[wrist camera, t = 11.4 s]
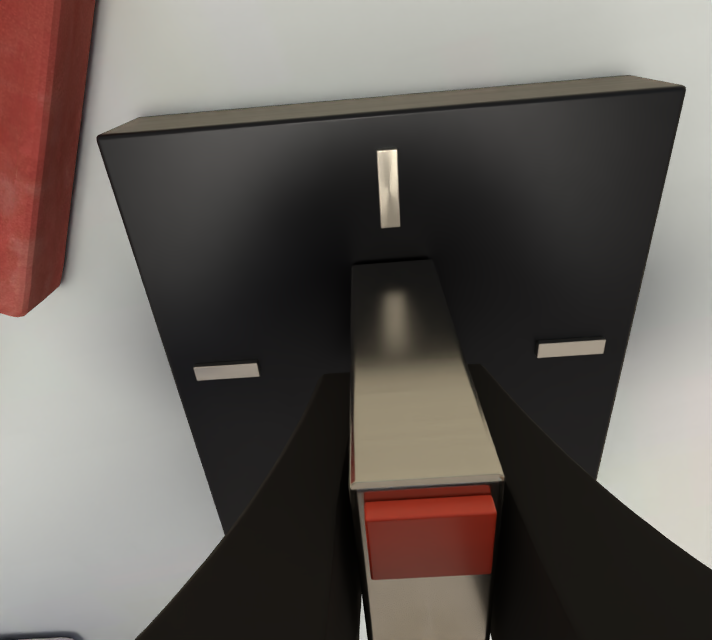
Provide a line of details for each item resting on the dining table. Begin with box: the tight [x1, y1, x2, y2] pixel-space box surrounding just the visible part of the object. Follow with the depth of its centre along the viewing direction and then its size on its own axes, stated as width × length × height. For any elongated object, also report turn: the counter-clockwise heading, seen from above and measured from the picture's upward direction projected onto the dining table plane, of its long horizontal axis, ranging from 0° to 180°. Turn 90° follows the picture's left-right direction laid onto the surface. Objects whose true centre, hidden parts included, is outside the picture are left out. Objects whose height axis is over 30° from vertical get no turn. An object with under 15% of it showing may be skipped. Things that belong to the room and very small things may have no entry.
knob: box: [348, 259, 505, 640], centre depth 8 cm, size 5×2×6 cm, turn 5°
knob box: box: [97, 75, 686, 535], centre depth 13 cm, size 13×10×2 cm
